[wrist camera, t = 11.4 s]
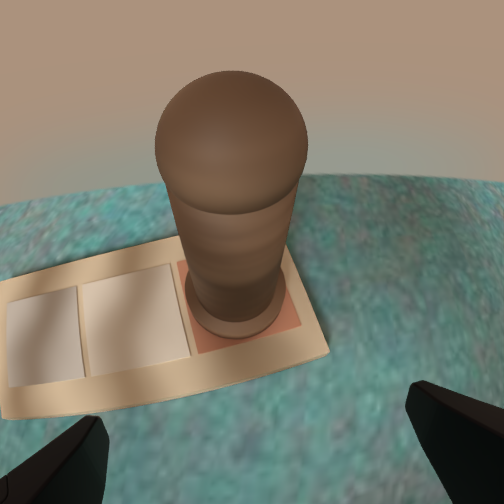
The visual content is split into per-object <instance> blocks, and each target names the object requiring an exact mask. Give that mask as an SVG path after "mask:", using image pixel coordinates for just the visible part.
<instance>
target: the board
mask: <svg viewBox="0 0 504 504" xmlns="http://www.w3.org/2000/svg"><path fill="white" fill-rule="evenodd" d="M280 267H281V269H282V271H283V273H284V277H285V282H286V293H285V298H284V301H283V304H282V307H281V311H280V313H279V315H278V317H277V318H276V320H275V321H274V322H273V323H272V324H271V326H269V327H268V328H267V329H266V330H264V331H263V332H261V333H260V334H257V335H255V336H253V337H250V338H245V339H226V338H221V337H218V336H215V335H213V334H211V333H210V332H208V331H207V330H205V329H204V328H203V327H202V326H201V325H200V324H199V323H198V322H197V321H196V320H195V318H194V316H193V315H192V312H191V310H190V308H189V305H188V303H187V300H186V296H185V280H186V276H187V272H188V270H189V269H188V265H187V262H186V258H185V255H184V251H183V248H182V244H181V241H180V237H179V235H178V236H174V237H170V238H166V239H161V240H157V241H153V242H149V243H145V244H141V245H137V246H133V247H129V248H125V249H121V250H117V251H113V252H109V253H105V254H101V255H97V256H93V257H89V258H85V259H81V260H77V261H74V262H70V263H66V264H62V265H59V266H55V267H51V268H47V269H44V270H40V271H36V272H33V273H29V274H26V275H22V276H18V277H15V278H11V279H8V280H4V281H1V282H0V405H1V414H2V418H3V419H8V420H23V419H40V418H52V417H63V416H73V415H81V414H89V413H97V412H104V411H111V410H118V409H124V408H130V407H136V406H141V405H147V404H152V403H157V402H162V401H167V400H172V399H177V398H181V397H186V396H190V395H195V394H199V393H203V392H207V391H211V390H215V389H219V388H223V387H227V386H231V385H234V384H238V383H242V382H245V381H249V380H252V379H256V378H259V377H263V376H266V375H269V374H273V373H276V372H279V371H282V370H285V369H289V368H292V367H295V366H298V365H301V364H304V363H307V362H310V361H313V360H315V359H318V358H321V357H324V356H326V355H327V354H328V353H329V352H330V350H329V348H328V345H327V343H326V340H325V338H324V335H323V333H322V330H321V328H320V325H319V323H318V320H317V318H316V315H315V313H314V310H313V308H312V305H311V303H310V301H309V298H308V296H307V293H306V291H305V288H304V286H303V284H302V281H301V279H300V276H299V274H298V271H297V269H296V267H295V264H294V262H293V260H292V257H291V255H290V252H289V250H288V248H287V245H286V244H285V248H284V253H283V257H282V262H281V266H280Z"/></svg>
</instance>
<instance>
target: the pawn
mask: <svg viewBox="0 0 504 504" xmlns="http://www.w3.org/2000/svg"><path fill="white" fill-rule="evenodd" d="M307 151H308V137H307V130H306V126H305V122H304V120H303V117H302V115H301V113H300V111H299V109H298V107H297V105H296V104H295V103H294V101H293V100H292V99H291V97H290V96H289V95H288V94H287V93H286V92H285V91H284V90H283V89H282V88H281V87H279V86H278V85H276V84H275V83H273V82H272V81H270V80H268V79H266V78H264V77H261V76H259V75H256V74H253V73H249V72H243V71H221V72H216V73H211V74H208V75H205V76H203V77H201V78H198V79H196V80H194V81H192V82H191V83H189V84H188V85H186V86H185V87H184V88H182V89H181V90H180V91H179V92H178V93H177V94H176V95H175V96H174V97H173V98H172V99H171V101H170V102H169V103H168V105H167V107H166V108H165V110H164V111H163V114H162V116H161V118H160V121H159V123H158V127H157V131H156V136H155V156H156V161H157V166H158V169H159V172H160V174H161V176H162V179H163V181H164V182H165V184H166V188H167V192H168V196H169V200H170V204H171V208H172V211H173V215H174V219H175V223H176V226H177V230H178V234H179V237H180V241H181V244H182V248H183V251H184V255H185V258H186V262H187V265H188V269H189V270H188V272H187V276H186V280H185V296H186V300H187V303H188V305H189V308H190V310H191V312H192V315H193V316H194V318H195V320H196V321H197V322H198V323H199V324H200V325H201V326H202V327H203V328H204V329H205V330H207V331H208V332H210V333H211V334H213V335H215V336H218V337H221V338H226V339H245V338H250V337H253V336H255V335H257V334H260V333H261V332H263V331H264V330H266V329H267V328H268V327H269V326H271V324H272V323H273V322H274V321H275V320H276V318H277V317H278V315H279V313H280V311H281V307H282V304H283V301H284V298H285V293H286V282H285V277H284V273H283V271H282V269H281V267H280V266H281V262H282V257H283V253H284V248H285V244H286V239H287V234H288V230H289V225H290V220H291V216H292V211H293V206H294V202H295V197H296V192H297V187H298V182H299V178H300V176H301V175H302V172H303V169H304V166H305V163H306V160H307Z"/></svg>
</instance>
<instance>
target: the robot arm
mask: <svg viewBox="0 0 504 504" xmlns="http://www.w3.org/2000/svg"><path fill="white" fill-rule="evenodd" d="M405 409H406V412H407V414H408V416H409V419H410V421H411V423H412V426H413V428H414V430H415V433H416V435H417V437H418V440H419V442H420V444H421V446H422V448H423V450H424V452H425V454H426V456H427V457H428V459H429V461H430V463H431V465H432V466H433V468H434V470H435V472H436V474H437V475H438V477H439V479H440V481H441V483H442V484H443V486H444V488H445V490H446V492H447V494H448V495H449V497H450V499H451V501H452V503H453V504H504V409H502V408H499V407H496V406H494V405H491V404H488V403H485V402H482V401H479V400H476V399H473V398H471V397H468V396H465V395H462V394H459V393H457V392H454V391H451V390H448V389H446V388H443V387H440V386H438V385H435V384H432V383H430V382H427V381H424V380H421V381H418V382H414V383H412V384H411V385H410V388H409V392H408V395H407V399H406V403H405ZM109 443H110V442H109V436H108V433H107V431H106V429H105V426H104V424H103V421H102V419H101V418H100V417H99V416H93V415H86V416H84V417H83V418H82V419H80V420H79V421H78V422H77V423H75V424H74V425H73V426H71V427H70V428H69V429H67V430H66V431H65V432H63V433H62V434H61V435H59V436H58V437H57V438H55V439H54V440H53V441H51V442H50V443H49V444H47V445H46V446H45V447H43V448H42V449H41V450H39V451H38V452H36V453H35V454H34V455H32V456H31V457H30V458H28V459H27V460H26V461H24V462H23V463H21V464H20V465H19V466H17V467H16V468H15V469H13V470H12V471H10V472H9V473H8V474H7V475H5V476H3V477H2V478H1V479H0V504H102V500H103V495H104V490H105V483H106V473H107V462H108V452H109Z"/></svg>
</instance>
